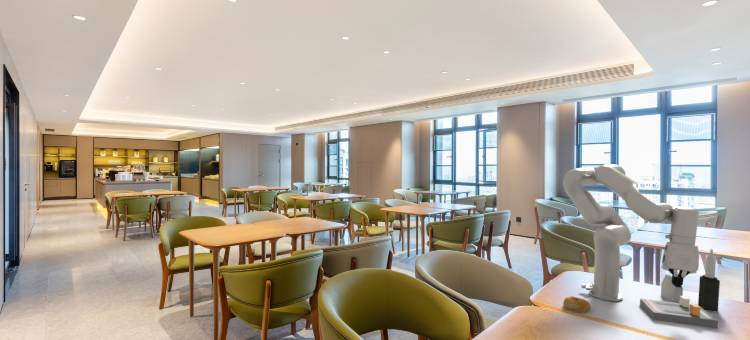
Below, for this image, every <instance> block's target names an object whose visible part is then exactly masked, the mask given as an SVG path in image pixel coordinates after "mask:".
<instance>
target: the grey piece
mask: <svg viewBox="0 0 750 340" xmlns="http://www.w3.org/2000/svg"><path fill="white" fill-rule="evenodd" d="M683 292H684V288H683V285H681V288H679V287H675V286H674V285H673V284H672V275H670V274H667V273H666V274H665V275H664V277H663V279H662V282H661V288H660V297H662V298H664V299H666V300H669V301H670V302H673V303H679V302H680V296H684V295H683V294H684V293H683Z"/></svg>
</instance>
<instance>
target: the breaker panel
mask: <svg viewBox="0 0 750 340" xmlns="http://www.w3.org/2000/svg"><path fill="white" fill-rule="evenodd" d="M639 306H640V307H641V309H642V310H643V311H644V312H645V313H647V315H648V316H649V317H650V318H651V319H652V321H658V322H666V323H672V324H673V323H674V324H681V325H689V326H695V327H696V326H697V327H703V328H710V329H717V330H718V329H719V320H718V319H717V318H715V317H714V315H711V314H710V313H709V312H708V311H706V310H704V309H702V308H701V307H700V306H699V307H700V316H696V315H693V314H691V313H690V312H689V311H690V298H689V297H687V296H685V295H682V296H680V302H673V301H665V300H664V301H663V300H657V299H656V300H655V299H648V298H647V299H646V298H639Z"/></svg>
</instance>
